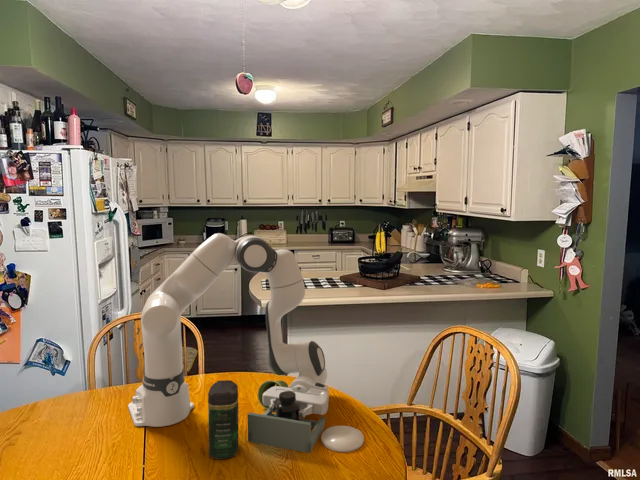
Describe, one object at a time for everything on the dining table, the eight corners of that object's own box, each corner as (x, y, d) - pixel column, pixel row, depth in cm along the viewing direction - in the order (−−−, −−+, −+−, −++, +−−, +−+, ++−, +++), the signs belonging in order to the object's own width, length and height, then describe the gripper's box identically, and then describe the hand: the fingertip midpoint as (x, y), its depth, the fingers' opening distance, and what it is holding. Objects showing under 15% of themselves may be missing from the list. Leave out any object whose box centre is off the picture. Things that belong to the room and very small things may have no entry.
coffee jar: (237, 459, 116) (236, 392, 114) (207, 461, 115) (205, 393, 113) (240, 439, 125) (239, 376, 124) (211, 441, 125) (210, 378, 123)
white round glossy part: (312, 439, 126) (312, 435, 126) (342, 424, 134) (342, 421, 134) (342, 457, 117) (342, 453, 117) (372, 440, 125) (372, 437, 125)
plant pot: (287, 408, 150) (277, 415, 141) (264, 395, 153) (253, 401, 144) (298, 383, 150) (288, 389, 141) (274, 370, 153) (264, 375, 144)
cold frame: (268, 417, 138) (268, 392, 137) (324, 426, 133) (324, 401, 132) (247, 441, 125) (247, 414, 124) (309, 453, 119) (309, 424, 118)
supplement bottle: (303, 430, 130) (303, 391, 129) (292, 442, 124) (292, 401, 123) (283, 425, 133) (283, 387, 132) (271, 436, 127) (271, 396, 126)
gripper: (272, 378, 143) (253, 396, 130) (333, 386, 137) (319, 406, 124) (272, 396, 144) (253, 416, 131) (332, 406, 138) (319, 428, 124)
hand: (286, 412), depth 127 cm, fingers open, 8 cm apart
